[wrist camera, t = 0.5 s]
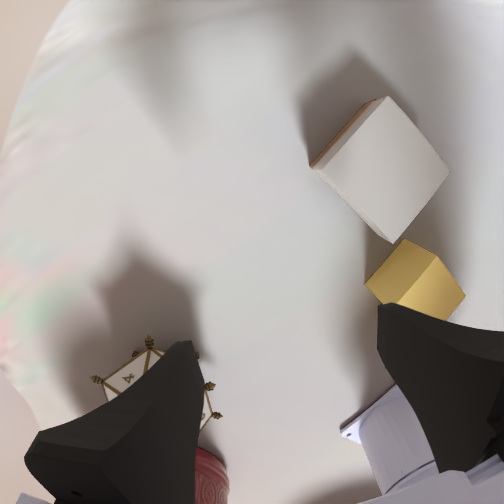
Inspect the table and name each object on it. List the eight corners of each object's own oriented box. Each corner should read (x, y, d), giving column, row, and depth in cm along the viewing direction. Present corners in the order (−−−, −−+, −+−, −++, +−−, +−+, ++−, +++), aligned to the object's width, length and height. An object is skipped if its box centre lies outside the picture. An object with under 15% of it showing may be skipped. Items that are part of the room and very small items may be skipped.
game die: (164, 325, 26) (121, 299, 16) (246, 382, 24) (246, 391, 15) (110, 402, 23) (47, 411, 14) (187, 461, 21) (157, 505, 12)
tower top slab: (431, 169, 18) (450, 171, 15) (377, 235, 19) (392, 243, 17) (372, 101, 16) (388, 95, 14) (311, 169, 17) (321, 170, 15)
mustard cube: (433, 274, 22) (465, 295, 17) (396, 316, 22) (423, 344, 18) (403, 238, 21) (437, 255, 16) (363, 284, 21) (389, 311, 17)
